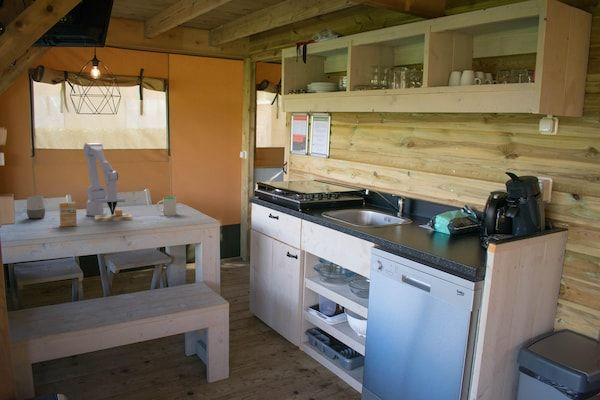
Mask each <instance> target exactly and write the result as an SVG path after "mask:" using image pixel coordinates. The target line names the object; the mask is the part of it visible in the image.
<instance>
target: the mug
mask: <svg viewBox="0 0 600 400" xmlns="http://www.w3.org/2000/svg"><path fill="white" fill-rule="evenodd" d="M160 203H162V210H160V209H159V204H160ZM156 208H157V211H159V212H160V213H161V212H162V213H163V216H176V215H177V214H178V213H177V212H178V211H177V197H173V196H168V197H167V196H166V197H163V198H162V200H159V201H158V202H157V203H156Z"/></svg>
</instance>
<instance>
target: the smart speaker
mask: <svg viewBox="0 0 600 400" xmlns="http://www.w3.org/2000/svg"><path fill="white" fill-rule="evenodd" d="M45 207H46V205H45V201H44V195H43V194H39V195H33V196H28V197H27V198H26V215H27V217H28V218H29V219H30V220H39V219H43V218H45V216H46V208H45Z"/></svg>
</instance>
